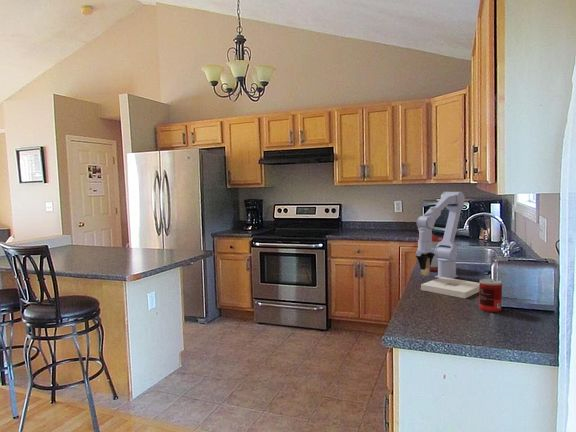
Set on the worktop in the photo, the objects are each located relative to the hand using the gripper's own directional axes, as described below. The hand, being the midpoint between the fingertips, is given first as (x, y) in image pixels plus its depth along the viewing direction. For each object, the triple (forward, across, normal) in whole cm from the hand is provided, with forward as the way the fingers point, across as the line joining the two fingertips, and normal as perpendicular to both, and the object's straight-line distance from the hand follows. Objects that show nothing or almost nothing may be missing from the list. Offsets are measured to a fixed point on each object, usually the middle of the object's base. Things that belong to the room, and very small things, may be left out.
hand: (425, 268), depth 195 cm
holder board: (+7, +3, +15) cm, 17 cm away
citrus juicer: (+7, -32, -13) cm, 35 cm away
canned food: (+7, +21, +38) cm, 44 cm away
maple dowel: (+3, 0, 0) cm, 3 cm away
